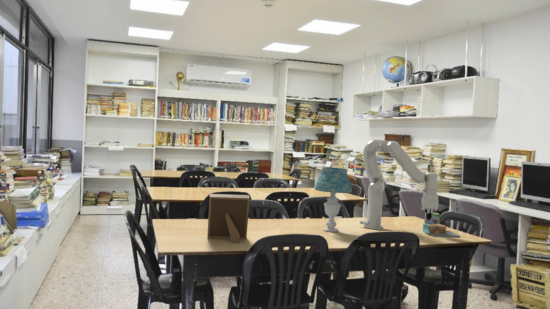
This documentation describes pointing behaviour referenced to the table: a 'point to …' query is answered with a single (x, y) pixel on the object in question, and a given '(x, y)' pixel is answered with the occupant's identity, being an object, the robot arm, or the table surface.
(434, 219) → the colorful lidded canister
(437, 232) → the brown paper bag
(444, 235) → the mat
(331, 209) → the table lamp
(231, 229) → the photo frame
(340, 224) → the table surface
